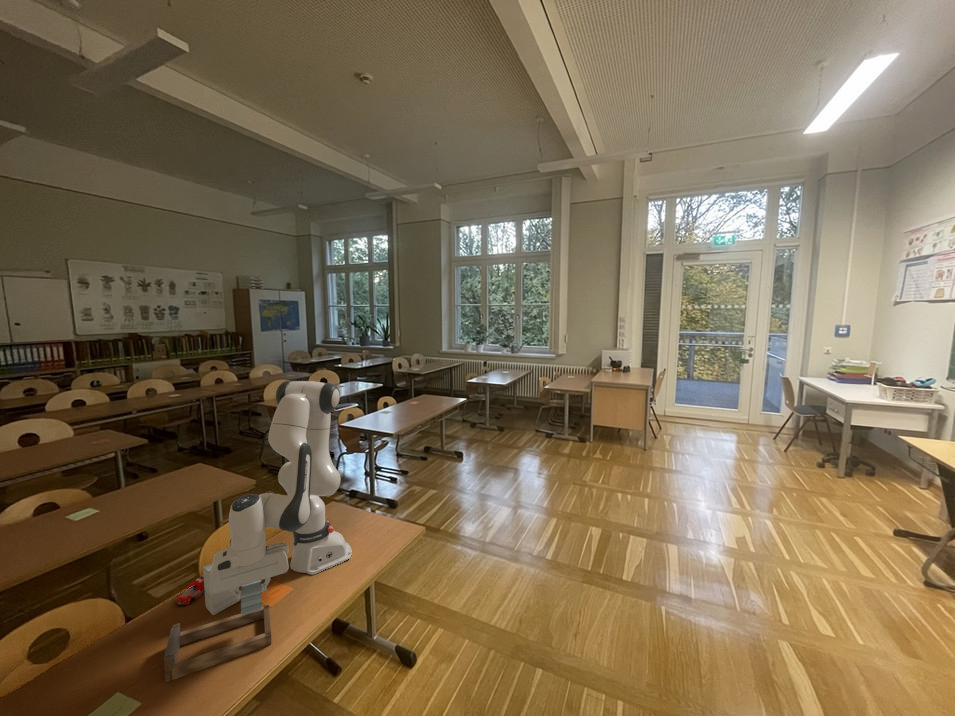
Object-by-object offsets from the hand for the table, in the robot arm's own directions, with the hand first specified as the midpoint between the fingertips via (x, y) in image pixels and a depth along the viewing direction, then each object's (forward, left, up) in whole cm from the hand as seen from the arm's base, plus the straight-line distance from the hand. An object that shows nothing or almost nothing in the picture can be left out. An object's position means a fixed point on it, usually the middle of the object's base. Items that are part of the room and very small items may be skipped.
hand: (251, 594), depth 112 cm
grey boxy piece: (0, 0, -3) cm, 3 cm away
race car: (+16, -29, -13) cm, 35 cm away
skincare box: (+8, -17, -12) cm, 23 cm away
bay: (+7, +1, -12) cm, 14 cm away
